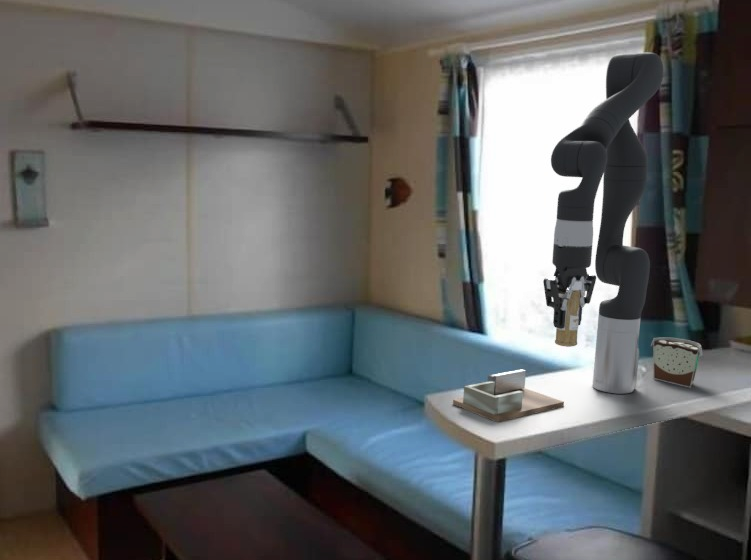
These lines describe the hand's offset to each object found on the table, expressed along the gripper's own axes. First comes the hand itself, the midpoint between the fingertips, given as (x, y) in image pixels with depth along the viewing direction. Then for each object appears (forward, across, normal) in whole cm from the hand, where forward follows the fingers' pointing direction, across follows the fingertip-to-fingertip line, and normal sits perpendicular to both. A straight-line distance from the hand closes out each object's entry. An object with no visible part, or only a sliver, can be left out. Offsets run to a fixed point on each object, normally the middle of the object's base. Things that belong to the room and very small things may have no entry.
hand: (567, 325), depth 160 cm
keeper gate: (+17, +1, -14) cm, 23 cm away
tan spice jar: (+4, 0, 0) cm, 4 cm away
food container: (+19, -46, -2) cm, 50 cm away
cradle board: (+18, +5, -10) cm, 22 cm away
